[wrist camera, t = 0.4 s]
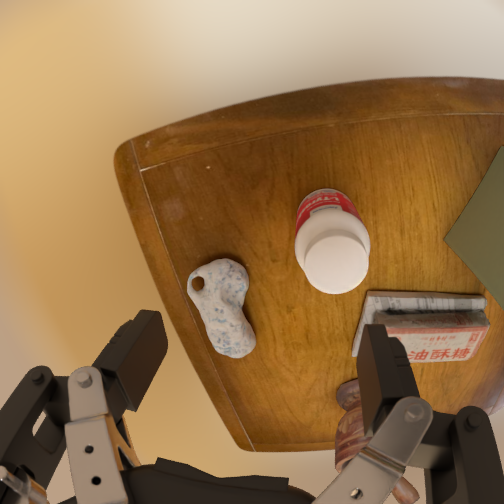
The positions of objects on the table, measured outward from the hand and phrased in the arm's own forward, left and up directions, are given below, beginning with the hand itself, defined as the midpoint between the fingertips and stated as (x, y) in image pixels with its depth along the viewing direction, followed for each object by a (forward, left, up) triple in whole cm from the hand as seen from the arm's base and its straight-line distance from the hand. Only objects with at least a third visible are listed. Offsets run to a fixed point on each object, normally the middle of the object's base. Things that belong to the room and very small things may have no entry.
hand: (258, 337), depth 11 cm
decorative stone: (+15, +1, -22) cm, 26 cm away
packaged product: (+5, +24, -22) cm, 32 cm away
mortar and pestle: (+19, +27, -22) cm, 39 cm away
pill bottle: (0, +5, -22) cm, 22 cm away
